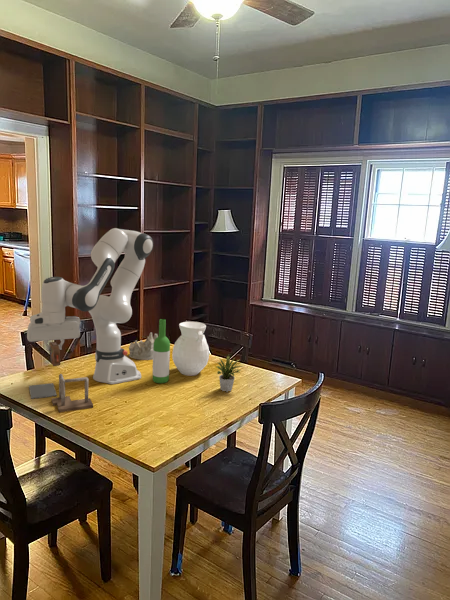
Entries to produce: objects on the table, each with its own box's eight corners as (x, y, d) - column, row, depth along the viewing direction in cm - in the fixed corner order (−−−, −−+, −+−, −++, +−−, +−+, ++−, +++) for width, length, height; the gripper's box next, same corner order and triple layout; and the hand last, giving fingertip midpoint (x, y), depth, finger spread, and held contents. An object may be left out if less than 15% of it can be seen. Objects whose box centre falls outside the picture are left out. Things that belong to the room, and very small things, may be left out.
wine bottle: (171, 380, 216) (174, 319, 211) (163, 385, 209) (165, 322, 204) (158, 376, 219) (159, 317, 214) (149, 381, 212) (150, 320, 207)
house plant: (225, 399, 197) (228, 364, 194) (203, 390, 206) (205, 356, 203) (246, 391, 208) (249, 357, 204) (224, 382, 217) (226, 350, 214)
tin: (49, 359, 192) (47, 340, 190) (57, 357, 193) (55, 338, 192) (54, 369, 179) (51, 348, 177) (62, 367, 180) (60, 347, 179)
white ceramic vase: (215, 375, 226) (217, 327, 222) (183, 381, 216) (185, 330, 211) (196, 364, 241) (198, 318, 237) (165, 369, 231) (167, 321, 226)
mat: (53, 384, 203) (53, 383, 203) (56, 396, 191) (56, 394, 191) (28, 386, 198) (28, 385, 198) (31, 399, 186) (31, 397, 186)
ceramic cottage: (165, 353, 256) (164, 328, 253) (150, 362, 241) (148, 335, 238) (141, 350, 262) (140, 325, 259) (125, 359, 247) (123, 333, 244)
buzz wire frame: (87, 396, 192) (87, 369, 190) (93, 407, 182) (93, 379, 179) (51, 400, 186) (51, 373, 183) (55, 412, 175) (54, 383, 173)
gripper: (78, 314, 190) (79, 345, 193) (26, 316, 181) (27, 349, 183) (81, 317, 185) (81, 349, 187) (27, 320, 175) (28, 354, 178)
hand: (54, 349), depth 185 cm, fingers closed on tin, 3 cm apart
